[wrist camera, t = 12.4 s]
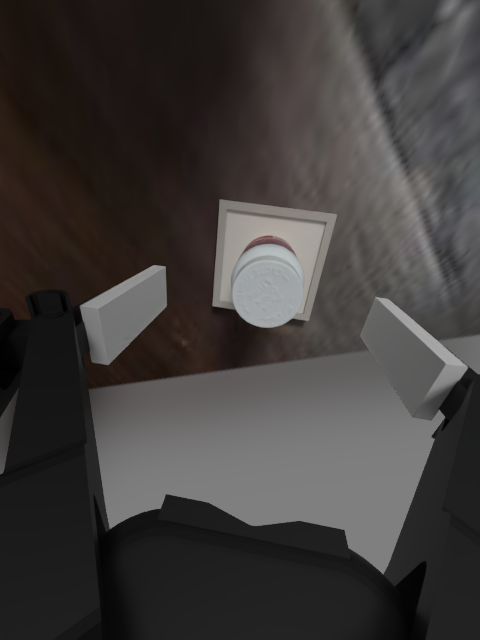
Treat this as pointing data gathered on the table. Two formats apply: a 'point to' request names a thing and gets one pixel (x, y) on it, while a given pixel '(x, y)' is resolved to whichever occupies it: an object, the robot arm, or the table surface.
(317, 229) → the coaster
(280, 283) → the pill bottle
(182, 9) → the table surface
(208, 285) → the table surface
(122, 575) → the robot arm
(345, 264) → the table surface
